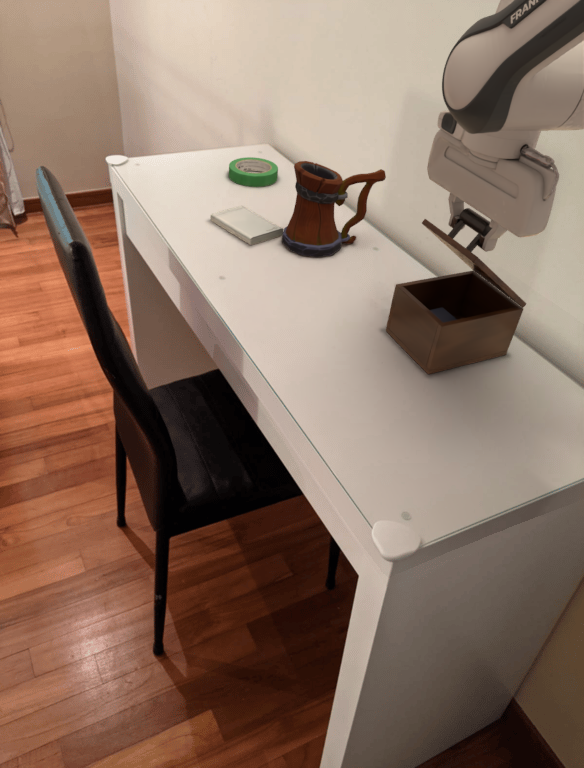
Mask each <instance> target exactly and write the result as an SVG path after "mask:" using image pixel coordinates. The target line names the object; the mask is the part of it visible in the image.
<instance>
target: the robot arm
mask: <svg viewBox="0 0 584 768" xmlns="http://www.w3.org/2000/svg"><path fill="white" fill-rule="evenodd" d="M441 78H442V79H441V92H442V98H443V101H444V104H445V106H446V110H441V111H440V112H439V114H438V118H437V127H438V128H439V130H437V132H436V133H435V134H434V136H433V140H432V144H431V147H430V151H429V157H428V161H427V166H426V167H427V169H426V170H427V175H428V179H429V180H430V181H431V182H433V183H435V185H436V184H437V185H438V186H439V187H441V188H442V189H444V190H445V191H447V192H449V195H448V198H447V199H448V207H449V214H450V216H449V220H448V226H449V227H450V228H452V229H453V228H454V227H455V226H456V224H457V223H458V222H459V221H460V219H459V217H460V214H461V212H462V211H463V210H464V209H465V204H466V205H468V206H470V207H471V208H473V209H474V210H476V211H477V212H479V213H480V214H482V215H484V216H485V217H486V218H488V219H490V225H489V226H490V227H491V228H492V229H491V230H490V231H489V233H488V234H482V235H480V238H479V242H478V245H477V247H478V248H479V249H481V250H482V251H483V252H487V253H488V252H492V251H494V250H495V249H496V245H497V242H498V239H500V238H501V237H502V236H503V235H504V234H505V233H506V232H509V233H511V234H513V235H514V236H516V237H517V238H528V237H534V236H537V235H540V234H541V233H543V232H544V231H545V230H546V228H547V226H548V223H549V219H550V216H551V213H552V210H553V206H554V201H555V196H556V190H557V185H558V183H559V180H560V172H559V170H558V167H557V166H556V165H557V164H555V160H554V158H552V157H551V156H549V155H546V154H543V153H541V152H540V151H539V150H537V149H536V147H537V145H538V141H539V138H540V135H541V133H542V132H548V131H582V130H584V0H499V2H498V5H497V7H496V10H495V13H493V14H490V15H488V16H487V15H486V16H484V17H482V18H480V19H478V20H477V21H476V22H474V23H473V24H472V25H471V26H470V27H468V29H467V30H466V31H465V32H464V33H463V34H462V35H461V36H460V37H459V39H458V40H457V41H456V43H455V44H454V46H453V47H452V49H451V50H450V52H449V54H448V56H447V58H446V61H445V64H444V68H443V72H442V77H441ZM465 227H466V225H464V227H463V228H462V229H461V230H464V229H465ZM461 230H460V231H461Z"/></svg>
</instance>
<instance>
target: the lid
mask: <svg viewBox="0 0 584 768" xmlns="http://www.w3.org/2000/svg"><path fill="white" fill-rule="evenodd" d="M459 219H460V221H459V222H458V223H457V224H456V226H455V227H454V228H452V229H451V230H450V231H449V232H448V234H447V233H446V232H445V231H443V230H442V229H440V228H439V227H438V226H436V225H435V224H434V223H432V222H431V221H429V220H428V219H427V218H424V220H422V221H421V224H422V225H423V227H425V228H426V229H427V230H428V231H429V232H430V233H431V234H433V236H435V237H436V238H437V239H438V240H439V241H440V242H442V244H444V245H445V246H446V247H447V248H448V249H449V250H450V251H451V252H452V253H454V255H456V256H457V257H458V258H459V259H460V260H461V261H462V262H463V263H464V264H466V265H467V266H468V268H470V269H471V271H475V272H476V273H477V274H479V275H480V276H481V277H483V278H484V279H485V280H487V281H488V282H489V283H490V284H492V285H493V286H494V287H496V288H497V289H498V290H500V291H501V292H502V293H504V294H505V295H506V296H508V297H509V298H510V299H511V300H513V301H514V302H515V303H517V304H518V305H519V306H521V307H522V308H523V309H524V308H525V306H527V302H526V301H525V300H523V299H522V297H521V296H519V295H518V294H517V293H516V292H515V291H514V290H513V289H512V288H511V287H510V285H508V284H507V283H506V282H505V281H504V280H503V279H501V278H500V277H499V275H498V274H496V273H495V272H494V271H493V270H492V269H491V268H490V267H489V266H488V265H487V264H486V263H485V262H483V260H481V259H480V257H479V256H477V255H476V254H474V253H473V251H474V250H475V249H476V247H478V242H479V238H480V235H482V234H488V233H489V231H490V230H491V229H492V228H491V227H490V226H489V225H490V222H491V220H488V219H486V218H485V217H484V216H482V215H481V214H479V213H478V212H476V211H475V210H473V209H472V208H470V207H467V208H464V210H463V211H462V212H461V214H460V217H459ZM464 225H465V226H467V227H468V228H470V229H471V230H472V231H473V232H475V233H477V234H476V235H475V237H473V238H472V240H471V241H470V242H469V244H467V246H463V245H462V244H461V243H459V242H458V241H457V240H456V239H455V238H456V236H457V235H458V234H459V233H460V232H461V229H462V228H463V227H464ZM464 228H465V227H464ZM464 228H463V229H464ZM463 229H462V230H463Z"/></svg>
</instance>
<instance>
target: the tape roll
mask: <svg viewBox="0 0 584 768" xmlns="http://www.w3.org/2000/svg"><path fill="white" fill-rule="evenodd" d="M278 176H279V167H278V165H277V164H276V163H275V162H273V161H271V160H270V159H266V158H261V157H251V156H250V157H249V156H247V157H240V158H239V157H238V158H236V159H234V160H232V161H230V162H229V164H228V178H229V180H230V181H232V182H233V183H235V184H237V185H240V186H245V187H250V188H261V187H262V188H263V187H268V186H271V185H274V184H275V183H276V182H278Z"/></svg>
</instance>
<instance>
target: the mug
mask: <svg viewBox="0 0 584 768" xmlns="http://www.w3.org/2000/svg"><path fill="white" fill-rule="evenodd" d="M293 169H294V173H295V180H296V181H295V185H294V187H295V191H296V198H295V204H294V208H293V212H292V215H291V216H290V219H289V222H288V224H287V225H286V226H285V227H284V228H283V235H282V236H281V243H282V244H283V245H284V246H285V247H286V248H287V249H288V250H289V251H291V252H293V253H295V254H297V255H299V256H302V257H313V258H320V257H321V258H322V257H330V256H332V255H334V254H335V253H336V252H339V251H340V250H341V249H342V244H345V245H348V244H350V245H351V244H353V243H354V242H356V240H357V236H356V235H350V234H349V232H350V230H351V229H352V228H353V227H354V226H356V225H357V224H359V223H361V222H362V221H363V220H364V219H365V217H366V214H367V212H368V211H367V209H368V198H369V194H370V192H371V190H372V187H373V186H374V184H376V183H380V182H384V181H385V180H386V178H387V175H386V171H385V170H384V169H378V170H376V171H374V172H373V171H372V172H368V173H358V174H353V175H351V176H349V177H346V178H345V179H343V177H342V176H341V174H340V173H339V172H338V171H335V170H333V169H331V168H330V167H327V166H324V165H322V164H319V163H318V162H313V161H307V160H302V161H301V160H300V161H297V162H295V163H294V165H293ZM364 183H365V184H364ZM356 184H364V186H363V187H362V188H361V190H360V192H359V194H358V197H357V204H356V213H355V214H354V215H353V216H352V217H351V218H350V219H349V220H347V221H346V223H345V224H344V225H343V226H342V229H341V232H340V230H338V228H337V225H336V220H335V205H337V206H338V207H341V206H342V205H344V204H345V202H346V199H347V198H348V195H349V194H348V192H347V190H348V188H349V187H350V186H353V185H356Z"/></svg>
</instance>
